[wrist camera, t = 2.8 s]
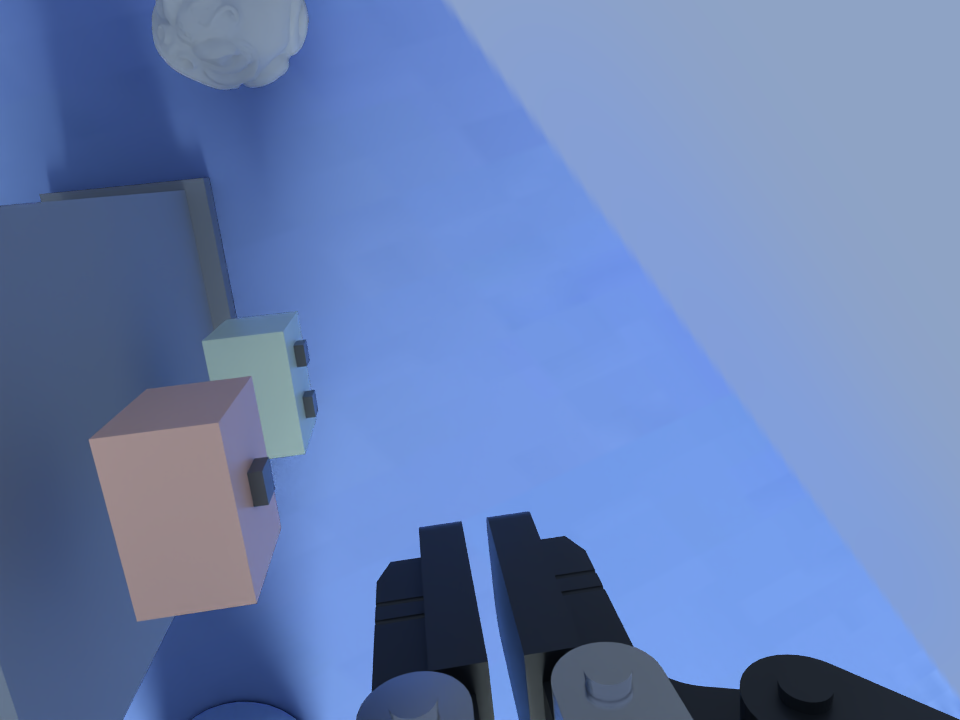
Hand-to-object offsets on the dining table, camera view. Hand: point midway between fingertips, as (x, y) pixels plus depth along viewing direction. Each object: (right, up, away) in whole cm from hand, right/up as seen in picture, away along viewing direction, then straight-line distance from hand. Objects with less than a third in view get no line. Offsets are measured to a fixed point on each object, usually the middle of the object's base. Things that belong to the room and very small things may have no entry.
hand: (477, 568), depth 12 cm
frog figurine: (-11, +20, +24) cm, 33 cm away
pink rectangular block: (-8, 0, +9) cm, 12 cm away
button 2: (-9, +3, +19) cm, 21 cm away
